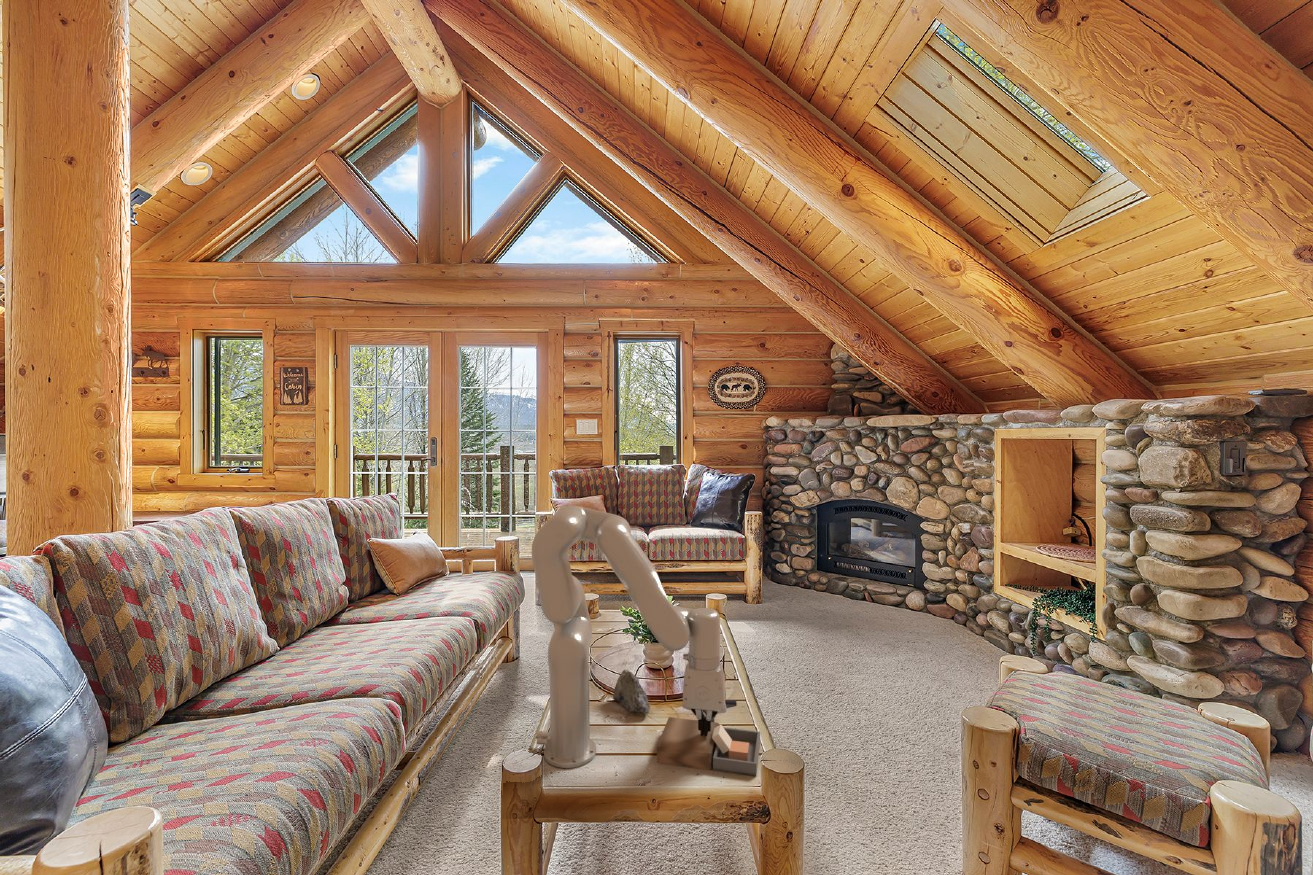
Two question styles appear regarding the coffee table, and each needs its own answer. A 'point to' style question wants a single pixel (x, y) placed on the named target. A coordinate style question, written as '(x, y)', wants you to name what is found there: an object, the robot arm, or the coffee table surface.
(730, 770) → the box
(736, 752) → the terracotta tile
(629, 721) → the coffee table surface
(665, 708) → the coffee table surface
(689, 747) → the tan square panel
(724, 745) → the cream tile
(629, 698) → the mineral rock
